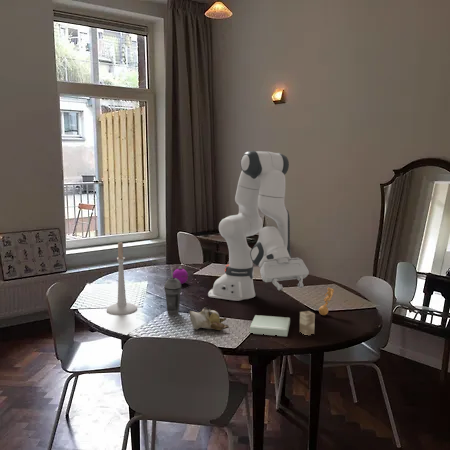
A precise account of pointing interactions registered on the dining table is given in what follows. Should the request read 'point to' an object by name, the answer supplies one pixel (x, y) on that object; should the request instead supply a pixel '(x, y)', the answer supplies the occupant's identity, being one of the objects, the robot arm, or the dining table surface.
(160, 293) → the dining table surface
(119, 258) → the candlestick
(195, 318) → the ceramic sculpture
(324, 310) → the figurine
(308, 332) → the tan block
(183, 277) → the christmas ornament
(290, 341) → the dining table surface
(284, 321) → the sage board
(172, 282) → the beverage cup
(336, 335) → the dining table surface
